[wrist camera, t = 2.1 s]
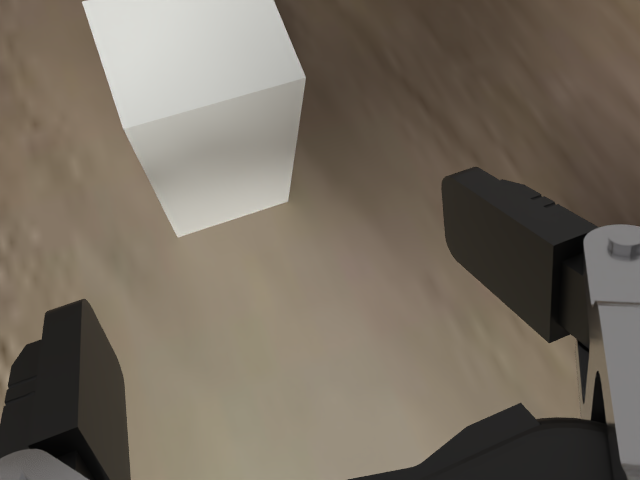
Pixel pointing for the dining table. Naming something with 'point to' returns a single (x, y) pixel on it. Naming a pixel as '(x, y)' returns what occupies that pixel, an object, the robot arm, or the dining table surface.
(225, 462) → the dining table surface
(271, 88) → the block
